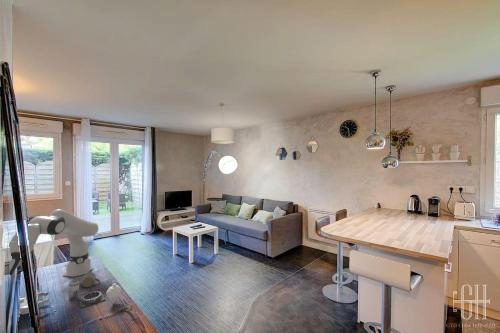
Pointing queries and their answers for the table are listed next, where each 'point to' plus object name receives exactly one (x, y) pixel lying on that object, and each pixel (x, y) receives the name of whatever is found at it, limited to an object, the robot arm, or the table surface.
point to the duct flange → (91, 298)
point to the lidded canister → (73, 290)
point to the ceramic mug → (89, 279)
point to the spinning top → (113, 292)
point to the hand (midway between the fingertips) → (48, 296)
